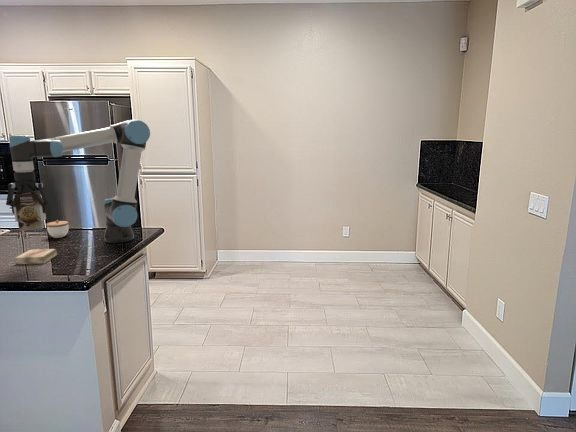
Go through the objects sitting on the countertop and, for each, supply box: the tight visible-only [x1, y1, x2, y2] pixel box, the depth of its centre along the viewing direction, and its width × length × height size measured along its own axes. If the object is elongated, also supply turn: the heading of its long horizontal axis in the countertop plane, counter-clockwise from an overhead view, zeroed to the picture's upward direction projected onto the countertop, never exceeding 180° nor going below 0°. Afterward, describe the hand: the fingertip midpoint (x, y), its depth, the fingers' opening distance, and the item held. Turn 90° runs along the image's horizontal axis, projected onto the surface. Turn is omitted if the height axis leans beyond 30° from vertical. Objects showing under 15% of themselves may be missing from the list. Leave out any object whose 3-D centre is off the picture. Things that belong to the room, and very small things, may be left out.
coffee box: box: [13, 191, 46, 231], centre depth 173 cm, size 9×6×16 cm
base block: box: [14, 248, 58, 265], centre depth 177 cm, size 12×12×3 cm
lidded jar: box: [45, 219, 70, 239], centre depth 216 cm, size 11×11×9 cm
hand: (31, 220), depth 174 cm, fingers closed on coffee box, 10 cm apart
